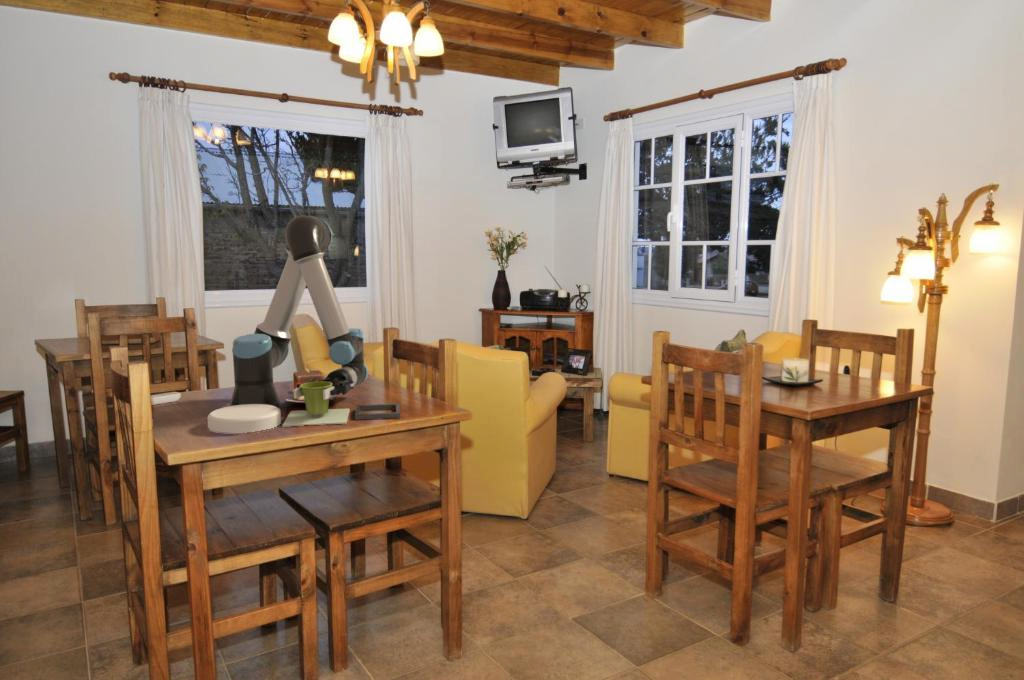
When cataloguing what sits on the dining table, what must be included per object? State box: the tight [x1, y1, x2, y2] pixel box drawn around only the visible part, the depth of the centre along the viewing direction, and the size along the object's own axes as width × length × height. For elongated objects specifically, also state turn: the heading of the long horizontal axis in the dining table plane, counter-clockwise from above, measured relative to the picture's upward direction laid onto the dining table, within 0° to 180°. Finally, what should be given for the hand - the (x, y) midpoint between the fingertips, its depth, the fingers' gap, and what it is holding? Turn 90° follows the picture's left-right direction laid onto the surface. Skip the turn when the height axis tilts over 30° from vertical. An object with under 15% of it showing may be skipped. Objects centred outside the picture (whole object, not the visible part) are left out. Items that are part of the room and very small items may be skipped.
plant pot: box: [300, 381, 332, 415], centre depth 216 cm, size 9×9×9 cm
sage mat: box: [281, 408, 350, 428], centre depth 217 cm, size 18×18×1 cm
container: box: [206, 404, 282, 433], centre depth 208 cm, size 20×20×5 cm
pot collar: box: [354, 403, 401, 421], centre depth 222 cm, size 13×13×2 cm
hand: (309, 394), depth 211 cm, fingers closed on plant pot, 9 cm apart
